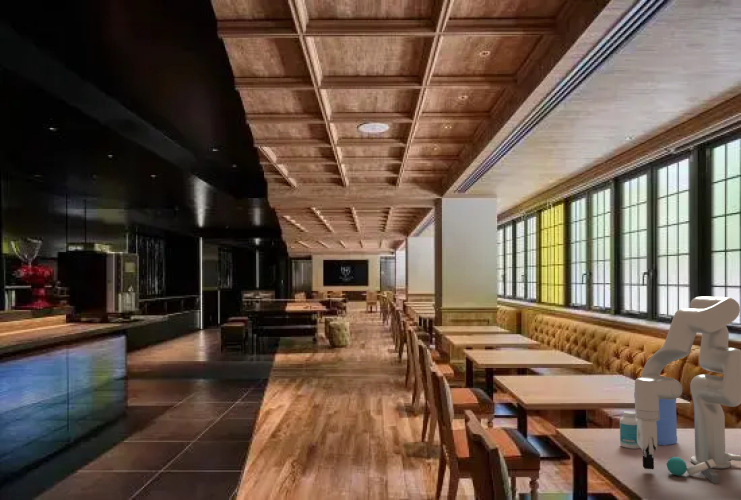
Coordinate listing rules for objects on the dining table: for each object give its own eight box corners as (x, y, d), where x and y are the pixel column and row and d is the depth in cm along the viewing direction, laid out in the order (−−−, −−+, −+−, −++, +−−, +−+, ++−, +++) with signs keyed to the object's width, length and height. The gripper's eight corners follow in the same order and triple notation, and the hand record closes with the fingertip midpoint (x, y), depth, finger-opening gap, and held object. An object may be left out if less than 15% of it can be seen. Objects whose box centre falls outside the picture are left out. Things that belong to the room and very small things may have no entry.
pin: (688, 474, 200) (714, 464, 198) (690, 477, 198) (717, 467, 196) (684, 467, 200) (710, 457, 199) (687, 470, 198) (713, 460, 196)
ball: (671, 451, 203) (661, 465, 203) (675, 455, 197) (665, 469, 198) (687, 462, 202) (677, 476, 202) (692, 466, 196) (682, 481, 196)
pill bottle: (643, 449, 229) (643, 414, 230) (624, 449, 229) (624, 414, 230) (635, 444, 237) (634, 410, 237) (617, 444, 237) (616, 410, 237)
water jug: (678, 438, 245) (676, 371, 246) (676, 448, 231) (674, 376, 232) (637, 433, 253) (636, 368, 254) (632, 442, 239) (631, 373, 240)
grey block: (707, 471, 203) (706, 464, 203) (719, 483, 191) (718, 475, 192) (700, 471, 204) (700, 463, 204) (712, 482, 192) (712, 475, 192)
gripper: (631, 409, 211) (632, 461, 210) (640, 418, 197) (641, 474, 196) (653, 410, 209) (655, 462, 208) (664, 420, 195) (665, 476, 194)
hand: (648, 468), depth 202 cm, fingers closed
